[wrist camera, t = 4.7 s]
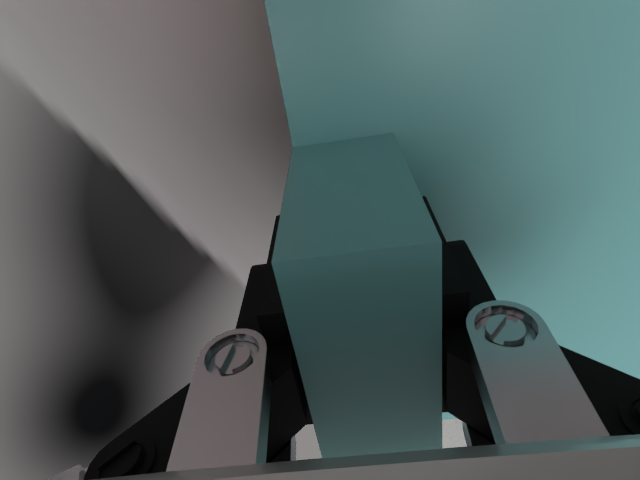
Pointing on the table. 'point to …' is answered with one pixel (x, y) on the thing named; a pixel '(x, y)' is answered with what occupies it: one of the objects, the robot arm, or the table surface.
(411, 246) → the lid
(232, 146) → the table surface
